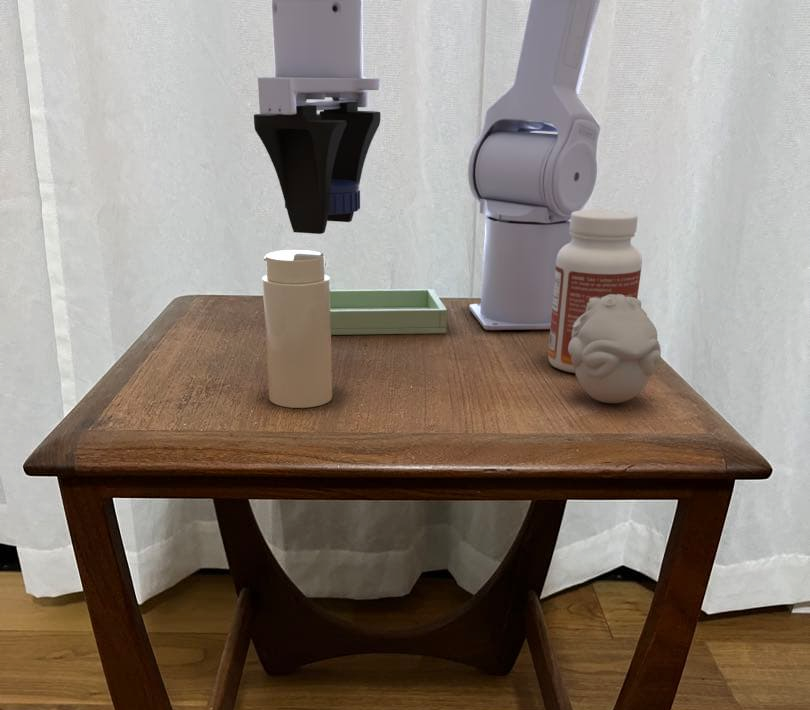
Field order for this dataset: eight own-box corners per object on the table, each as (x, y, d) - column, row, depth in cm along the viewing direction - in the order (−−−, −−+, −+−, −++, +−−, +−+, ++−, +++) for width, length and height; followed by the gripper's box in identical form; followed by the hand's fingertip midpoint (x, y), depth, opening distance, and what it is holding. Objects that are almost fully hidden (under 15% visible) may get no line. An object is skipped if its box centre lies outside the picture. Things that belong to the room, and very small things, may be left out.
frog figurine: (629, 382, 64) (643, 285, 61) (671, 415, 58) (689, 309, 54) (549, 385, 63) (559, 286, 60) (583, 419, 57) (596, 311, 54)
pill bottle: (645, 369, 67) (668, 216, 61) (586, 382, 64) (605, 222, 58) (588, 350, 71) (604, 205, 66) (530, 361, 68) (543, 210, 63)
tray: (432, 310, 82) (433, 288, 81) (446, 333, 75) (447, 310, 74) (291, 312, 81) (290, 290, 80) (291, 335, 74) (290, 311, 73)
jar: (330, 386, 62) (326, 248, 57) (334, 407, 58) (331, 261, 54) (268, 388, 61) (260, 249, 57) (269, 409, 57) (260, 262, 53)
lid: (270, 210, 59) (269, 183, 59) (311, 201, 63) (310, 176, 63) (335, 217, 57) (334, 189, 57) (373, 207, 61) (373, 181, 61)
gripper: (336, -13, 47) (341, 247, 54) (410, 5, 60) (407, 215, 66) (218, -13, 49) (236, 240, 55) (314, 5, 61) (320, 210, 68)
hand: (323, 226), depth 61 cm, fingers closed on lid, 5 cm apart
